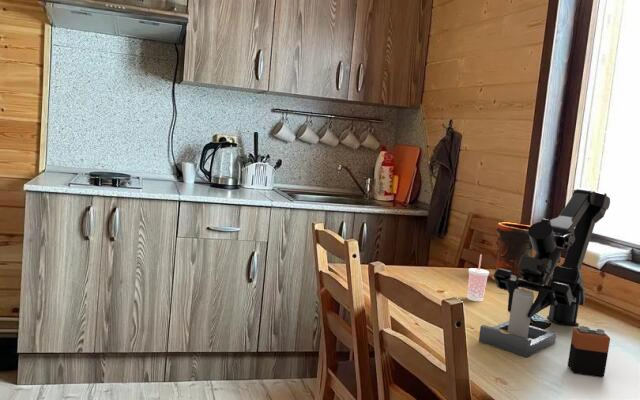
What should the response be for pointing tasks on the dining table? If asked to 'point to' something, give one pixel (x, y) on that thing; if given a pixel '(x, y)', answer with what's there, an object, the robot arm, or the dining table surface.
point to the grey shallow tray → (516, 339)
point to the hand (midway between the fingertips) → (518, 313)
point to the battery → (588, 351)
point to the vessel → (512, 246)
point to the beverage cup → (477, 283)
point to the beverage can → (520, 312)
